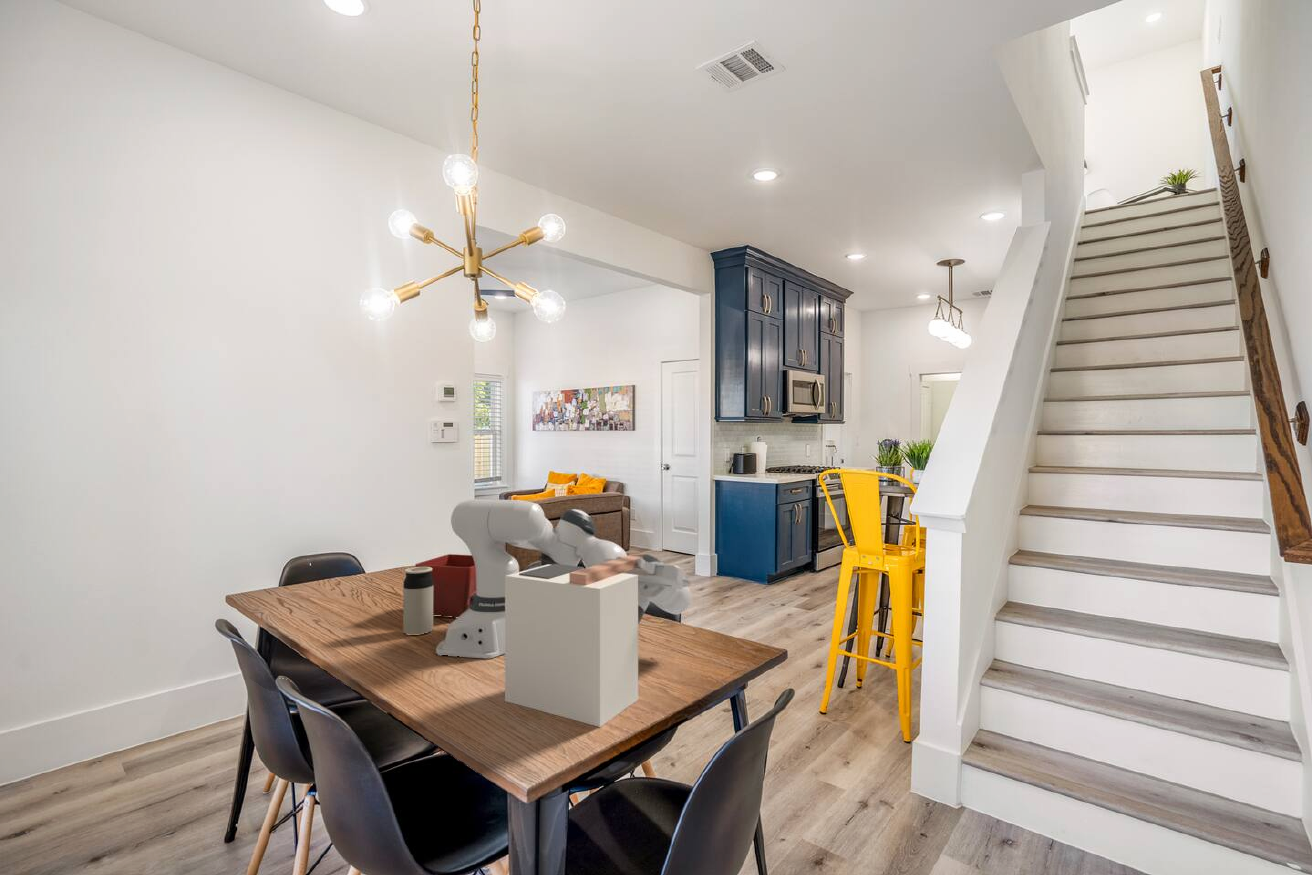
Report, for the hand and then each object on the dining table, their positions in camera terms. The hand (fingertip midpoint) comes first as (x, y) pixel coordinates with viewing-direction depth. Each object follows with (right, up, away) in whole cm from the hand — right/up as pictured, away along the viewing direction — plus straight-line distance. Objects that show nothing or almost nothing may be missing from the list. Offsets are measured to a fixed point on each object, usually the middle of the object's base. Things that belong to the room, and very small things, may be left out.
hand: (628, 560), depth 133 cm
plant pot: (-57, -29, +58) cm, 86 cm away
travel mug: (-62, -28, +38) cm, 78 cm away
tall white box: (-11, -27, -9) cm, 31 cm away
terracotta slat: (-4, -1, -7) cm, 8 cm away
